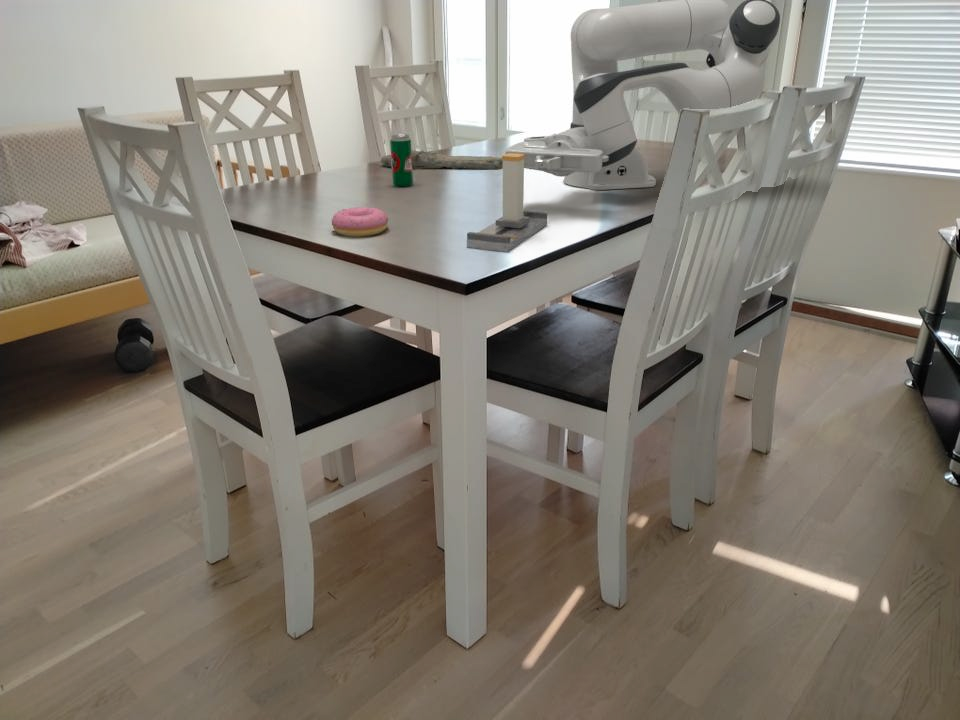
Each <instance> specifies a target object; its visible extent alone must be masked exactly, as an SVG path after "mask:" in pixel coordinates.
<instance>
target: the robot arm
mask: <svg viewBox="0 0 960 720" xmlns="http://www.w3.org/2000/svg"><path fill="white" fill-rule="evenodd" d="M780 24H781V15H780V11H779V9H778V8H777V6H775V5H774V4H773V3H772V2H770V1H769V0H744V1H742V2H741V3H740V4H739V5H738V6H737V7H736V8H735V9H734V11H733V13H732V9H731V6H730V5H729V4H728V3H727V2H726V1H724V0H665V1H656V2H647V3H641V4H632V5H625V6H617V7H615V6H614V7H609V8H608V7H607V8H594V9H593V8H592V9H589V10H585V11H584V12H582V13H581V14H579V15H578V17H577V18H576V19H575V21H574V22H573V24H572V26H571V31H570V46H571V47H570V49H571V72H572V81H573V84H572V85H573V86H572V87H573V95H572V96H573V99H572V100H573V101H572V122H571V123H570V128H569V129H566V130H565V131H562V132H559V133H553V134H550V135H547V136H546V135H543V136H531V137H529V136H528V137H525V138H524V139H523V141H522V142H517V143H515V144H513V145H510V146H509V147H507V148H506V149H505V151H504V152H505V153H504V155H506V154H508V153H513V154H525V159H524V169H527V170H533V171H540V172H544V173H547V174H551V175H553V176H556V177H559V178H560V177H562V178H563V181H562V182H563V183H564V184H566V185H569V186H573V187H579V188H586V189H590V190H595V191H603V190H605V191H606V190H620V189H638V188H653V187H655V186H656V184H657V179H656V178H655V176H653V175H650V174H648V164H647V160H646V157H645V155H643V154H642V153H641V152H640V151H639V150H638V149H637V148H636V145H637V143H638V139H637V135H636V132H635V131H636V130H635V128H634V124H633V121H632V120H631V117H630V113H629V110H628V108H627V107H628V106H627V104H626V101H625V98H624V94H625V92H629V91H634V90H638V89H639V90H640V89H645V88H655V89H657V90H659V91H660V92H661V93H662V94H663V95H664V96H665V97H666V98H667V99H668V100H669V102H670V104H671V105H672V106H673V108H674V109H675V111H677V113H678V114H679V113H680V110H681V109H683V108H689V109H719V108H727V107H732V106H736V105H740V104H743V103H746V102H749V101H752V100H754V101H756V100H757V99H758V98H759V97H760V96H761V95H762V93H763V91H764V87H765V83H766V82H765V75H764V72H763V69H762V68H763V66H764V64H765V63H766V61H767V59H768V57H769V54H770V51H771V48H772V46H773V43H774V40H775V38H776V37H777V35H778V32H779V29H780ZM694 50H703V51H706V52H708V54H707V56H706V58H705V62H706V65H707V66H708V68H706V69H700V70H699V69H694V68H691V67H690V66H688V65H687V64H686V63H685V62H671V63H663V64H658V65H651V66H647V67H646V66H645V67H641V68H640V67H639V68H636V69H629V70H623V71H619V65H618V62H620V61H626V60H632V59H636V58H637V59H638V58H642V57H649V56H657V55H666V54H672V53H673V54H674V53H678V52H679V53H682V52H687V51H694ZM755 99H756V100H755Z"/></svg>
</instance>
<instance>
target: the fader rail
mask: <svg viewBox="0 0 960 720" xmlns="http://www.w3.org/2000/svg"><path fill="white" fill-rule="evenodd" d="M523 216H526V217H530V222H529V223H528V224H526V225H525V226H523V227H521V228H512V227H503V226H496V221H495V222H494V223H492V224H491V225H489V226H486V227H485V228H483V229H481V230H480V231H479V232H474V231H473V232H472V231H469V232H467V233H466V248H470V249H480V250H488V251H496V252H504V253H509V252H510V251H512V250H514V249H515V248H516V247H518V246H519V245H520V244H522V243H524V242H525V241H527V240H528V239H529V238H531V237H532V236H534V235H535V234H537V233H538V232H539V231H541V230H543V229H544V228H545V227H546V226H548V212H545V211H543V212H542V211H533V210H524V209H523Z"/></svg>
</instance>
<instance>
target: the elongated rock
mask: <svg viewBox="0 0 960 720" xmlns="http://www.w3.org/2000/svg"><path fill="white" fill-rule="evenodd" d="M380 163H381V164H382V165H384V167H389V168H392V163H391V154H386V155H382V156H381V159H380ZM412 168H413V170H419V169H420V170H425V169H431V170H432V169H433V170H434V169H441V168H447V169H449V168H451V169H453V170H454V169H455V170H456V169H470V170H500V169H503V160H502V157H497V156H490V155H489V156H475V155H474V156H473V155H448V154H441V153H438V152H437V151H435V150H428V151H425V150H420V151H419V150H412Z"/></svg>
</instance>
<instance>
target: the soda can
mask: <svg viewBox="0 0 960 720" xmlns="http://www.w3.org/2000/svg"><path fill="white" fill-rule="evenodd" d="M390 137H391V138H390V140H389V146H390V155H391V163H392V167H391V175H392V176H391V180H392V184H393V186H394V187H396V188H409V187H412V185H413V184H414V176H413V175H414V174H413V173H414V172H413V170H414V169H413V168H412V139H411V138H410V135H409V134H405V133H404V134H403V133H401V134H392V135H391V136H390Z"/></svg>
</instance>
